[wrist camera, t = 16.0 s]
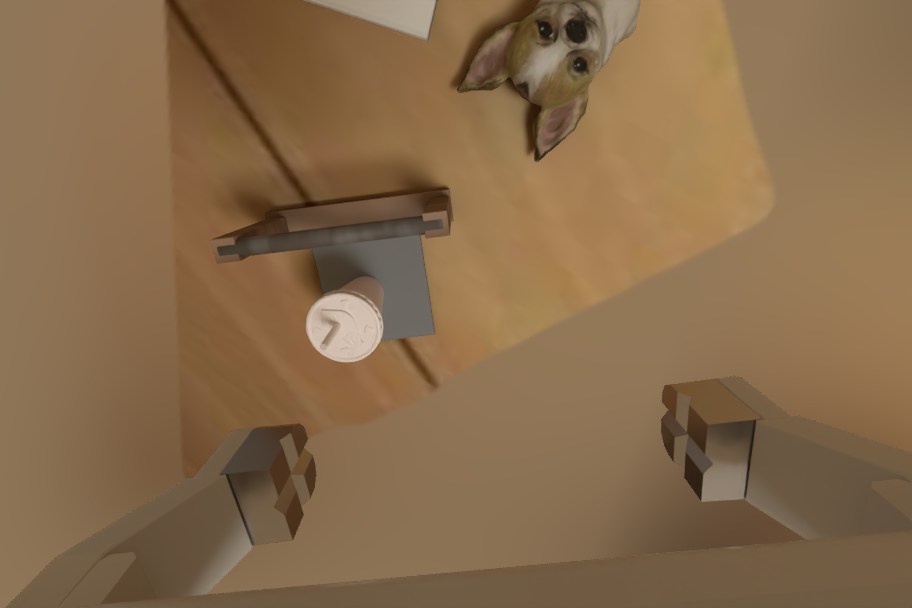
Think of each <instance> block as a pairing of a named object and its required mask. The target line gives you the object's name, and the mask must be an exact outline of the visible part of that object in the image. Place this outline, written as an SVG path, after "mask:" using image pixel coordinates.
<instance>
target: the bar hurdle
mask: <svg viewBox="0 0 912 608" xmlns="http://www.w3.org/2000/svg"><path fill="white" fill-rule="evenodd" d="M265 216H266V220H264V221H261V222H258V223H255V224H253V225H250V226H247V227H244V228H242V229H239V230H236V231H234V232H231V233H228V234H225V235H223V236H220V237H217V238H214V239H212V240H210V243H211V246H212V249H213V252H214V255H215V259H216V262H217V264H218V263H226V262H234V261H241V260H243V259H245V258H247V257H248V256H251V255H259V254H268V253H276V252H284V251H292V250H300V249H309V248H317V247H325V246H333V245H341V244H350V243H358V242H366V241H374V240H382V239H391V238H399V237H407V236H415V235H424V234H425V237H426V238H432V237H440V236H448V235H450V225H451V222H452V221H453V214H452V206H451V198H450V190H449V189H443V190H435V191H427V192H420V193H412V194H404V195H396V196H388V197H380V198H372V199H364V200H356V201H348V202H340V203H332V204H324V205H316V206H308V207H301V208H293V209H285V210H277V211H269V212H266V213H265Z"/></svg>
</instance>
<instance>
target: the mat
mask: <svg viewBox="0 0 912 608" xmlns="http://www.w3.org/2000/svg"><path fill="white" fill-rule="evenodd" d="M312 250H313V254H314V258H315V262H316V266H317V271H318V275H319V279H320V283H321V287H322V292H323V295H324V294H326V293H328V292H331V291H334V290H339V289H340V288H342V287H343V286H345V285H347V284H348V283H350V282H351V281H353V280H354V279H356V278H358V277H361V276H368V277H372V278H374V279H376V280H377V281H378V282H379V283H380V284H381V286H382V288H383V291H384V297H383V305H382V314H381V316H382V320H383V335H382V337H381V340H380V341H382V340H391V339H400V338H409V337H418V336H427V335H435V330H434V323H433V316H432V310H431V303H430V296H429V290H428V283H427V277H426V270H425V263H424V257H423V250H422V243H421V237H420V235H415V236H407V237H399V238H391V239H382V240H374V241H366V242H358V243H350V244H341V245H333V246H325V247H317V248H312Z"/></svg>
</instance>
